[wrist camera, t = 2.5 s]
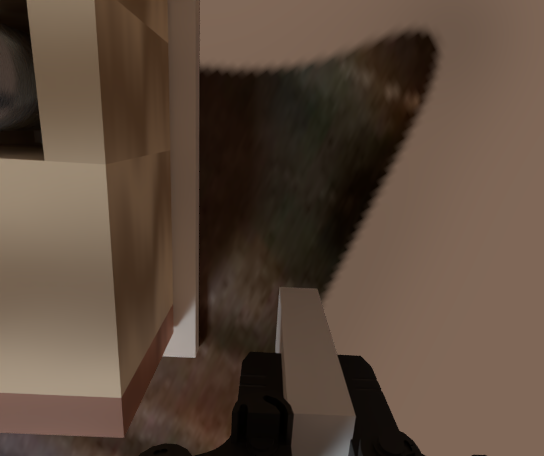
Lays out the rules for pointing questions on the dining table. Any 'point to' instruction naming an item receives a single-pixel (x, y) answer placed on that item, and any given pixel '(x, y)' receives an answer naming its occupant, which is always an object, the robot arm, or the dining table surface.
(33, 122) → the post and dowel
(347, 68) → the dining table surface
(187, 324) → the base board
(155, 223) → the beige block with hole
